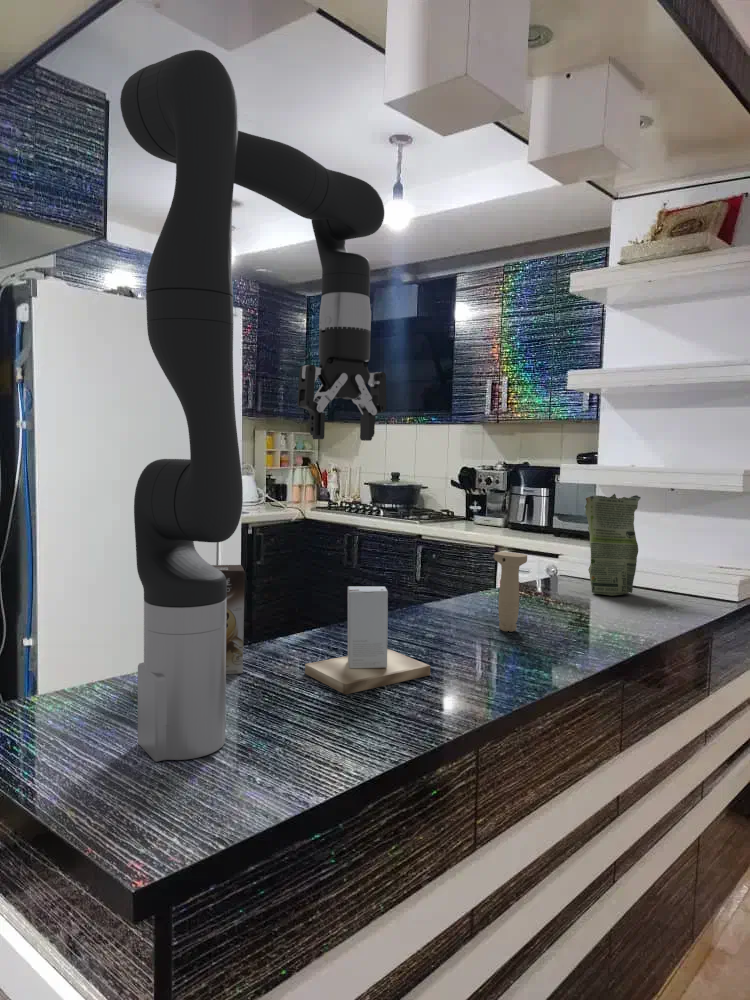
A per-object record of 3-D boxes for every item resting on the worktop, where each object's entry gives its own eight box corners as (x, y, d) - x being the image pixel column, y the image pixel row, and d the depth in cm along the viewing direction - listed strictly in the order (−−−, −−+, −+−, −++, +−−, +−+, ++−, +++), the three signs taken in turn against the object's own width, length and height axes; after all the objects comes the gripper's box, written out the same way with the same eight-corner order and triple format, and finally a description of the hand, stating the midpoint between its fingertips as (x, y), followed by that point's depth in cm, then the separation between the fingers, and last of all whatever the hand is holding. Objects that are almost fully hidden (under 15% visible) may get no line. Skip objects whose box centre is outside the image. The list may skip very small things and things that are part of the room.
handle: (515, 635, 134) (518, 557, 133) (486, 629, 139) (489, 553, 138) (528, 631, 138) (531, 555, 137) (500, 625, 142) (503, 551, 141)
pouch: (578, 592, 177) (582, 493, 175) (597, 586, 186) (602, 491, 184) (622, 599, 170) (627, 496, 168) (639, 592, 179) (645, 494, 177)
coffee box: (182, 677, 106) (183, 571, 105) (182, 664, 112) (182, 564, 111) (244, 674, 108) (245, 569, 107) (240, 661, 114) (241, 562, 113)
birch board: (345, 694, 100) (345, 684, 100) (305, 673, 109) (305, 663, 109) (430, 675, 110) (430, 665, 110) (387, 657, 119) (387, 648, 119)
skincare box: (384, 660, 112) (386, 585, 111) (387, 669, 107) (390, 590, 106) (345, 660, 111) (347, 584, 110) (347, 670, 107) (349, 590, 106)
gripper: (369, 337, 111) (366, 441, 112) (289, 326, 102) (287, 438, 103) (399, 331, 105) (396, 441, 106) (317, 319, 96) (314, 439, 97)
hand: (342, 439), depth 105 cm, fingers open, 8 cm apart
